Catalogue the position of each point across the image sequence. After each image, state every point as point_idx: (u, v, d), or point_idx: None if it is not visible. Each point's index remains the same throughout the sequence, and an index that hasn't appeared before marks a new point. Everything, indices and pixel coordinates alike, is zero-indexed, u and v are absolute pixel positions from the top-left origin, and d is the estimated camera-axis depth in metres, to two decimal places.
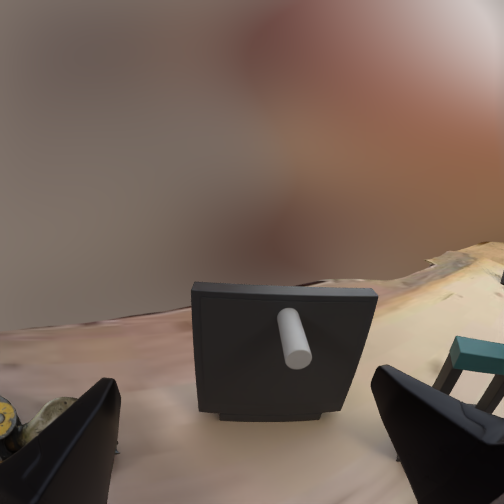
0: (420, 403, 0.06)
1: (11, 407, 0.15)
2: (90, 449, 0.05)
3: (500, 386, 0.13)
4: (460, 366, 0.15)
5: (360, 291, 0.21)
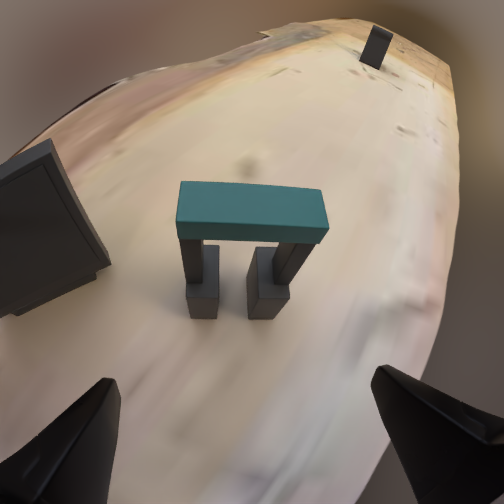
0: (420, 403, 0.06)
1: None
2: (90, 449, 0.05)
3: (291, 250, 0.15)
4: (189, 236, 0.13)
5: (31, 154, 0.11)
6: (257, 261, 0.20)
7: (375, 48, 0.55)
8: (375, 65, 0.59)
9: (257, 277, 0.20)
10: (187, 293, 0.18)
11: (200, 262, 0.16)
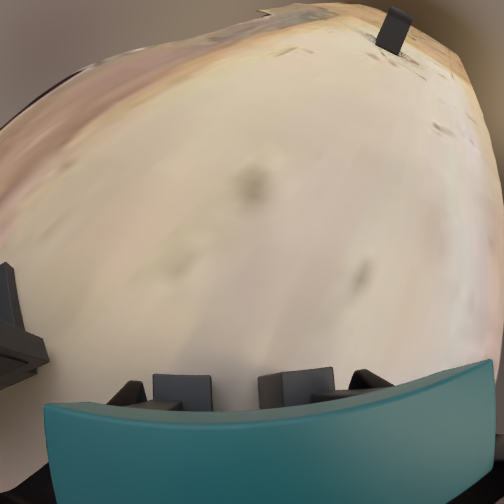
0: None
1: None
2: None
3: None
4: None
5: None
6: (284, 402, 0.10)
7: (394, 31, 0.43)
8: (393, 50, 0.47)
9: None
10: None
11: None
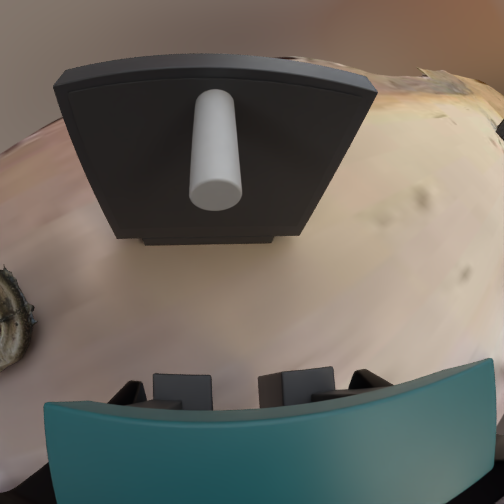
0: None
1: None
2: None
3: None
4: None
5: (348, 77, 0.10)
6: (284, 402, 0.10)
7: None
8: None
9: None
10: None
11: None
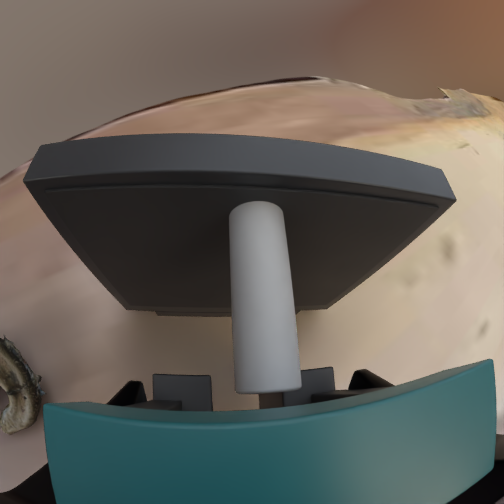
0: None
1: None
2: None
3: None
4: None
5: (426, 177, 0.08)
6: (284, 402, 0.09)
7: None
8: None
9: None
10: None
11: None
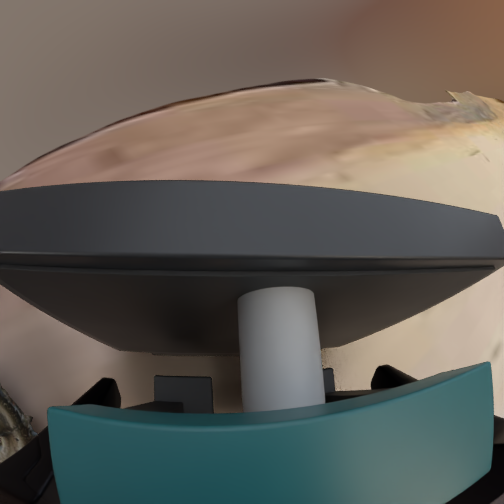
0: None
1: None
2: None
3: None
4: None
5: (487, 232, 0.06)
6: None
7: None
8: None
9: None
10: None
11: None
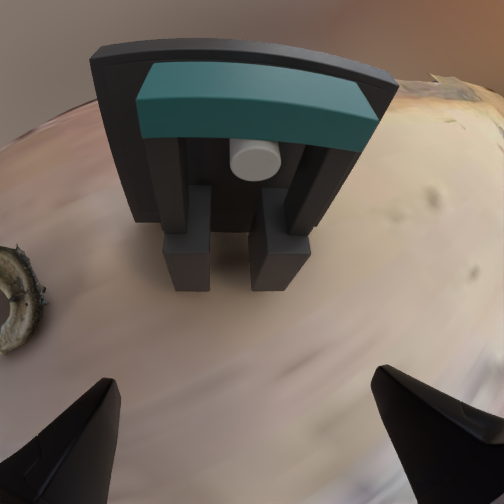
0: (420, 403, 0.06)
1: None
2: (90, 449, 0.05)
3: (318, 169, 0.10)
4: (159, 131, 0.07)
5: (372, 70, 0.10)
6: (263, 205, 0.14)
7: None
8: None
9: (264, 226, 0.14)
10: (165, 247, 0.13)
11: (180, 191, 0.10)
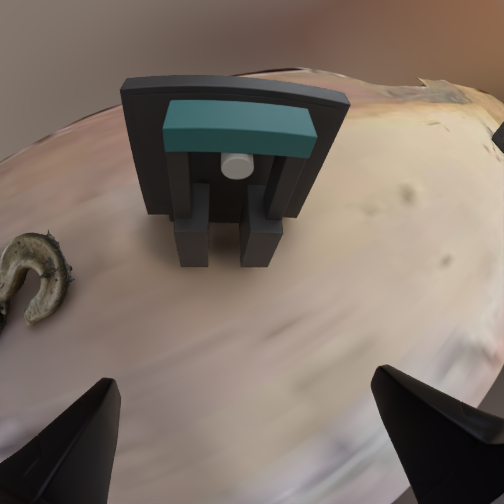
0: (420, 403, 0.06)
1: None
2: (90, 449, 0.05)
3: (281, 170, 0.15)
4: (176, 148, 0.12)
5: (329, 94, 0.15)
6: (248, 198, 0.19)
7: None
8: (502, 148, 0.52)
9: (248, 213, 0.19)
10: (175, 228, 0.17)
11: (188, 186, 0.15)
